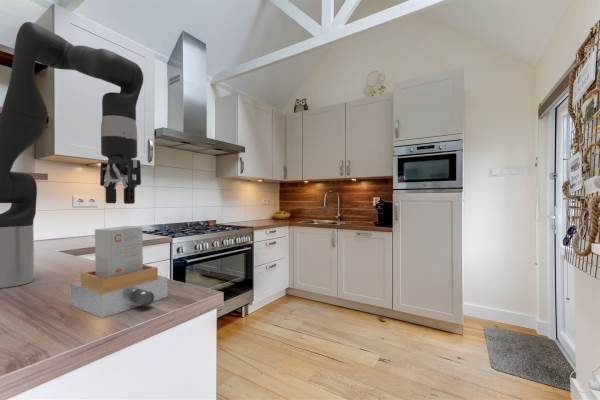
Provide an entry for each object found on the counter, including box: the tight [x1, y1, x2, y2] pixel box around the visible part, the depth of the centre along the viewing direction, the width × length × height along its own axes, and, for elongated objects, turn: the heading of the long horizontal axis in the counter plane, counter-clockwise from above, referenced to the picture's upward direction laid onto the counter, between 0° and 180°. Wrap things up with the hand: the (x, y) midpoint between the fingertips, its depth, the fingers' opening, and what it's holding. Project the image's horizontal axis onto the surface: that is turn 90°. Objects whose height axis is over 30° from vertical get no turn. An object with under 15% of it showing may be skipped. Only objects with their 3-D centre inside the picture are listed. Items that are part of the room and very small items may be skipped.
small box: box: [94, 225, 144, 278], centre depth 70 cm, size 8×6×13 cm
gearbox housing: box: [70, 264, 168, 319], centre depth 69 cm, size 19×15×8 cm
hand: (119, 203), depth 70 cm, fingers open, 8 cm apart
